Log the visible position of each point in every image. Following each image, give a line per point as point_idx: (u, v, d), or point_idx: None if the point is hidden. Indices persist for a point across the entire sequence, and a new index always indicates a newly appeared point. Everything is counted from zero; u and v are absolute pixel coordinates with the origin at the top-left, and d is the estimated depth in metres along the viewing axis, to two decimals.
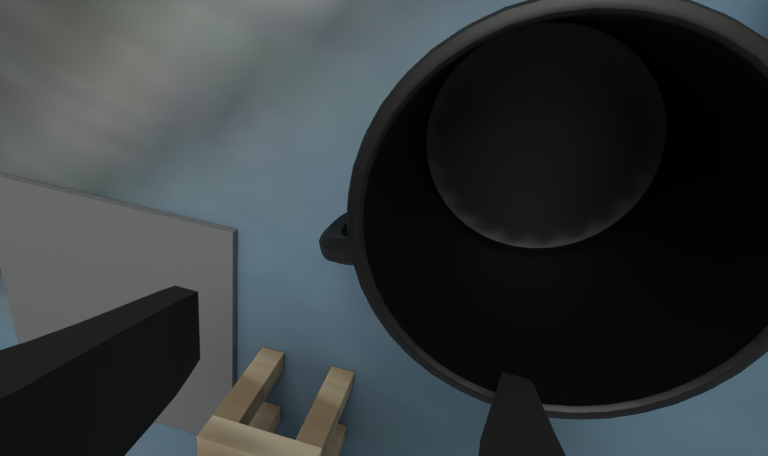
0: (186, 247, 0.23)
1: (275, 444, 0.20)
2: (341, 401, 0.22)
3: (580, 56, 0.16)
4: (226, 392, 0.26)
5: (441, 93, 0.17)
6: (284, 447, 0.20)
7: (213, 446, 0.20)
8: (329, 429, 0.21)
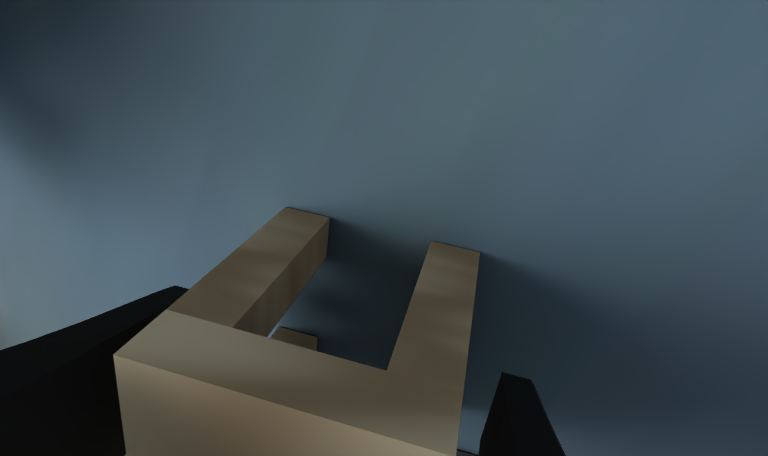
0: None
1: None
2: (248, 241, 0.10)
3: None
4: None
5: None
6: None
7: None
8: (203, 280, 0.09)
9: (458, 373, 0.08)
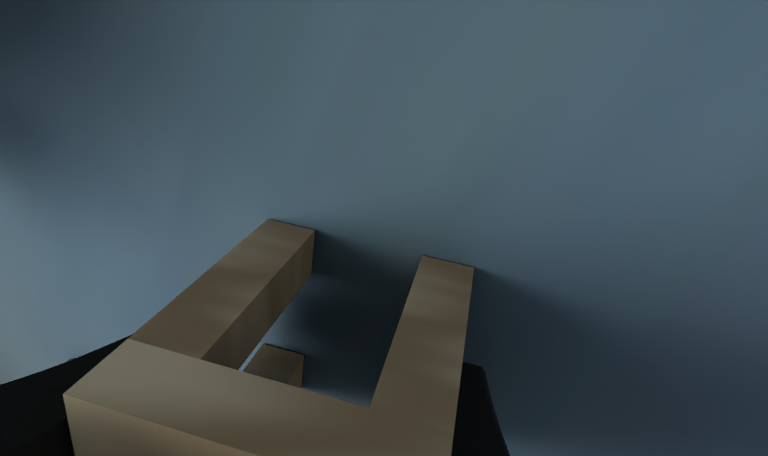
0: None
1: None
2: (225, 258, 0.10)
3: None
4: None
5: None
6: None
7: None
8: (172, 304, 0.08)
9: (448, 409, 0.07)
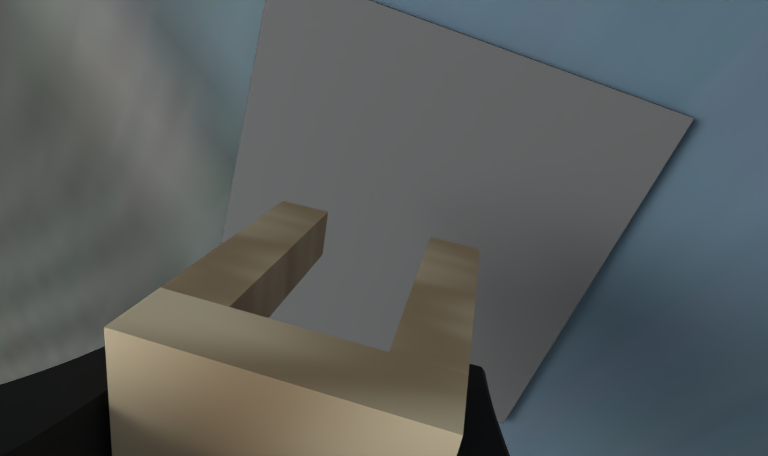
0: (294, 54, 0.16)
1: None
2: (245, 230, 0.10)
3: None
4: (560, 83, 0.15)
5: None
6: None
7: None
8: (199, 263, 0.09)
9: (462, 357, 0.07)
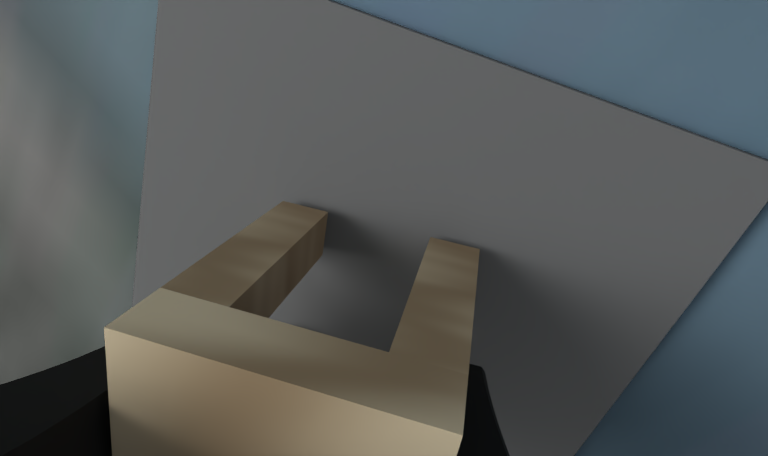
0: (205, 70, 0.12)
1: None
2: (245, 230, 0.10)
3: None
4: (588, 115, 0.10)
5: None
6: None
7: None
8: (199, 263, 0.09)
9: (462, 357, 0.07)
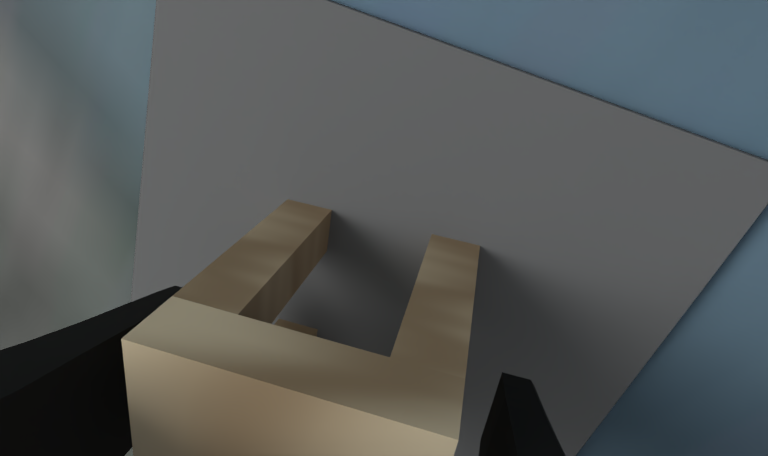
0: (203, 70, 0.11)
1: None
2: (252, 232, 0.11)
3: None
4: (588, 116, 0.10)
5: None
6: None
7: None
8: (207, 269, 0.09)
9: (460, 360, 0.08)
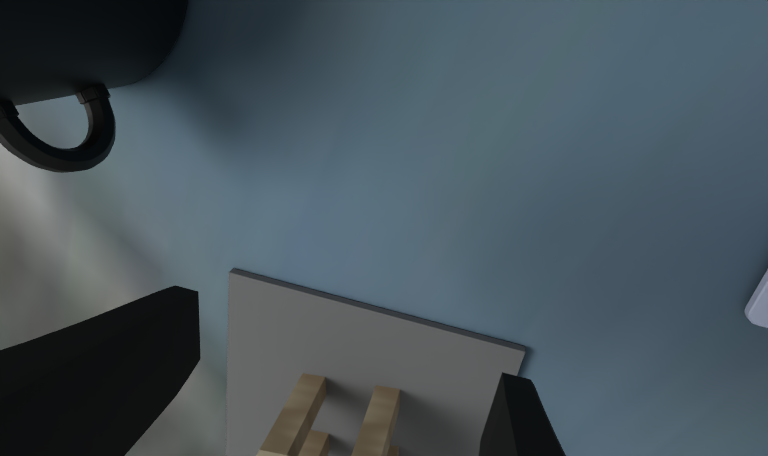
0: (253, 320, 0.24)
1: None
2: (287, 402, 0.22)
3: None
4: (432, 333, 0.21)
5: None
6: None
7: None
8: (271, 431, 0.21)
9: None
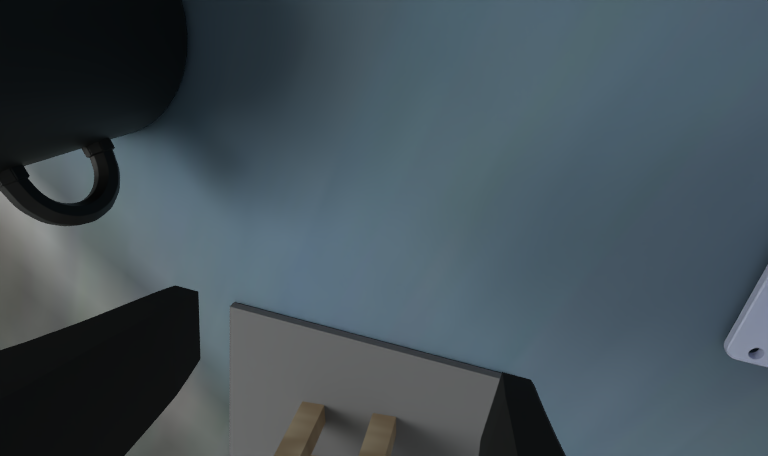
0: (254, 352, 0.24)
1: None
2: (287, 432, 0.23)
3: None
4: (426, 365, 0.22)
5: None
6: None
7: None
8: None
9: None
